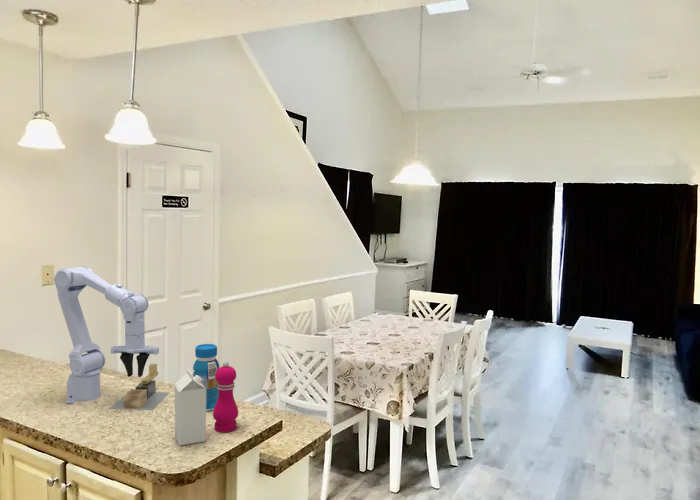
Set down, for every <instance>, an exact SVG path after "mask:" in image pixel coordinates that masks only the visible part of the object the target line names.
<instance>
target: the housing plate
mask: <svg viewBox="0 0 700 500" xmlns="http://www.w3.org/2000/svg"><path fill="white" fill-rule="evenodd" d="M156 384H157V383H156V380H152V381H150V382H149V383H148V384H141V382H139V384H138V385H136V386H135V389H146V390H147V402H146V403H145V404H144V405H143V406H142V407H141V408H124V395H123V396H122V397H121V398H120V399H118V400H117V401H116V402H114V404H112V405H111V406H109V407H108V410H127V411H128V410H133V411H135V410H136V411H154V410H155V409H156V408H157V406H159V405H160V403H162V402H163V401H164V400H165V398H166V397H167V396H168V395H170V393H171V392H169V391H156V386H157V385H156Z"/></svg>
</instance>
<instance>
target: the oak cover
mask: <svg viewBox="0 0 700 500" xmlns="http://www.w3.org/2000/svg"><path fill="white" fill-rule="evenodd" d="M123 396H124V408H141V407H142V406H143V405H144V404H145V403H146V402H147V390H146V389H136V388H133V389H130V390H128V392H126V393H125V394H124V395H123Z"/></svg>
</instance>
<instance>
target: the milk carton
mask: <svg viewBox="0 0 700 500" xmlns="http://www.w3.org/2000/svg"><path fill="white" fill-rule="evenodd" d="M186 371H187V372H186V373H185V374H184V375H183V376H182V377H181V378H180V379H179V380H177V382H176V383H175V384H174V437H175V439H176V441H177V444H178V446H179V447H180V446H186V445H191V444H197V443H204V442H206V441H207V440H206V439H207V437H206V435H207V434H206V433H207V427H206V426H207V415H206V414H207V411H206V389H205V387H204V386H203V384H202V383H201V381H202V380H203V379H202V378H201V377H199V376H198V375H196V376H195V377H194V376H193V373H192V372H191V371H190V369H189V368H187V369H186Z"/></svg>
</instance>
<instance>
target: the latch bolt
mask: <svg viewBox="0 0 700 500" xmlns="http://www.w3.org/2000/svg"><path fill="white" fill-rule="evenodd" d="M158 375H159V371H158V364H157V363H149V366H148V374H147V375H146V376H145V377H144V378H143V379H141V381H140V383H141V384H148V383H149V382H150V381H154V380H155V378H157V376H158Z"/></svg>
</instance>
